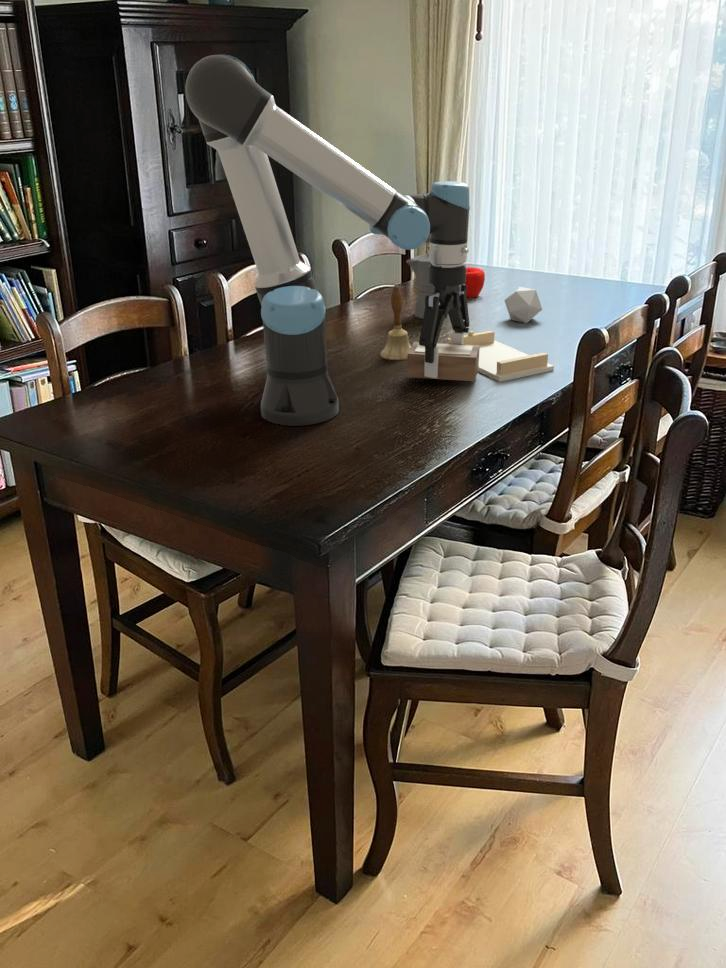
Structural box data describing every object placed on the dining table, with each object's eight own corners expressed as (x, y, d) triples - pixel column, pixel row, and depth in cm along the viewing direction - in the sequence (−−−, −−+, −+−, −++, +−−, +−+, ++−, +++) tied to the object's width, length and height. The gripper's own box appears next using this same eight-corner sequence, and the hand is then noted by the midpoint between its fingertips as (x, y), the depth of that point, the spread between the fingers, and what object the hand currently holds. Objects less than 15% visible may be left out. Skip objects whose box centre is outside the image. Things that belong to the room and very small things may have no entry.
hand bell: (413, 360, 203) (412, 290, 196) (377, 359, 205) (375, 290, 198) (418, 350, 210) (418, 282, 204) (383, 349, 212) (382, 281, 205)
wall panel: (499, 381, 188) (499, 361, 186) (440, 352, 208) (440, 334, 206) (553, 370, 193) (554, 351, 192) (491, 343, 213) (492, 325, 211)
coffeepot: (412, 321, 233) (411, 251, 225) (402, 313, 241) (401, 244, 233) (468, 316, 236) (469, 246, 228) (457, 307, 244) (457, 240, 236)
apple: (453, 292, 260) (453, 265, 256) (484, 292, 259) (484, 265, 255) (453, 300, 252) (453, 272, 248) (484, 300, 251) (485, 272, 247)
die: (548, 322, 230) (541, 286, 232) (536, 313, 222) (530, 275, 224) (516, 332, 234) (510, 296, 236) (504, 323, 226) (498, 286, 228)
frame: (474, 381, 183) (476, 356, 181) (406, 377, 186) (407, 352, 184) (478, 367, 191) (479, 344, 189) (413, 364, 194) (414, 340, 192)
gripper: (437, 276, 168) (433, 388, 178) (489, 255, 186) (483, 358, 196) (402, 272, 172) (400, 381, 181) (456, 252, 190) (452, 352, 199)
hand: (443, 369), depth 188 cm, fingers closed on frame, 11 cm apart
